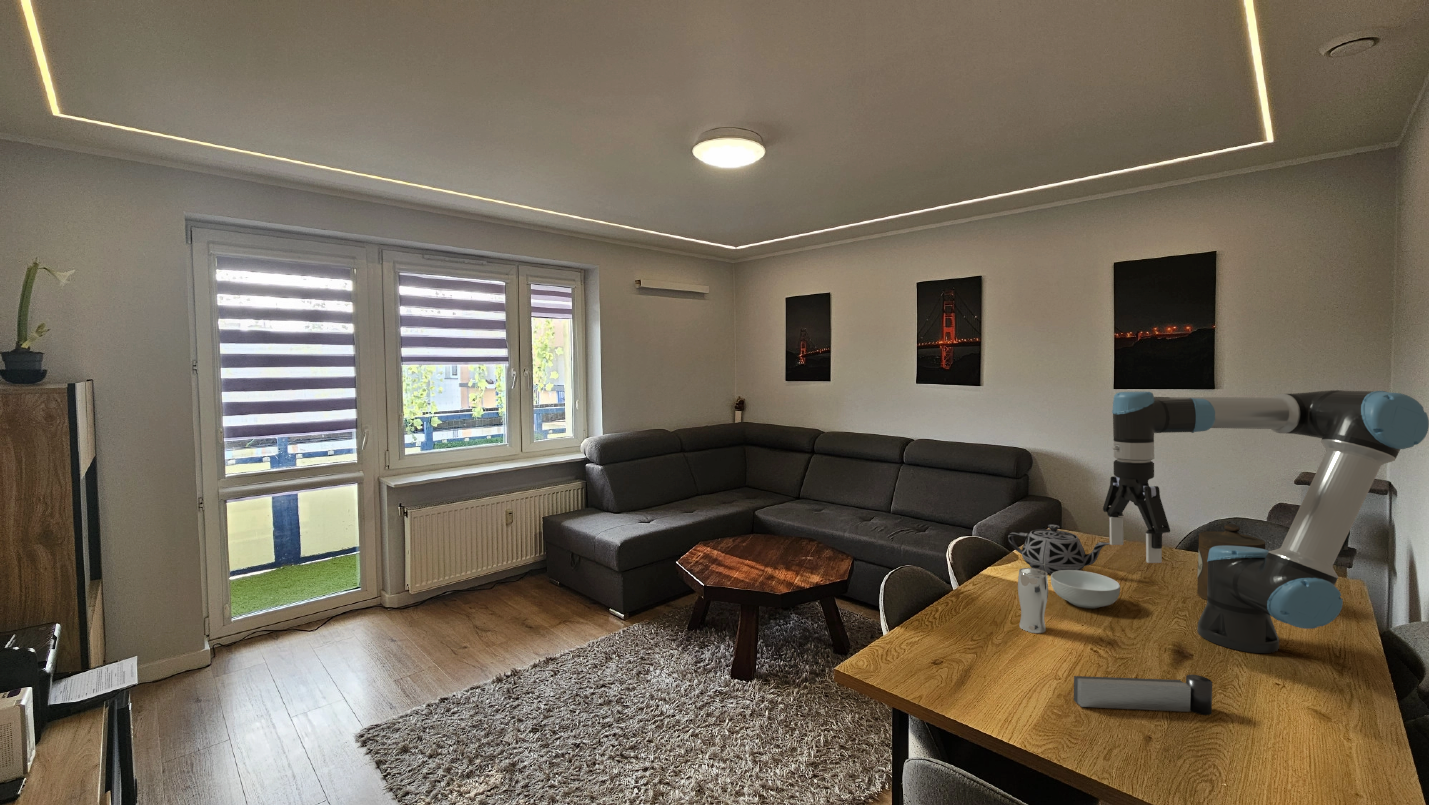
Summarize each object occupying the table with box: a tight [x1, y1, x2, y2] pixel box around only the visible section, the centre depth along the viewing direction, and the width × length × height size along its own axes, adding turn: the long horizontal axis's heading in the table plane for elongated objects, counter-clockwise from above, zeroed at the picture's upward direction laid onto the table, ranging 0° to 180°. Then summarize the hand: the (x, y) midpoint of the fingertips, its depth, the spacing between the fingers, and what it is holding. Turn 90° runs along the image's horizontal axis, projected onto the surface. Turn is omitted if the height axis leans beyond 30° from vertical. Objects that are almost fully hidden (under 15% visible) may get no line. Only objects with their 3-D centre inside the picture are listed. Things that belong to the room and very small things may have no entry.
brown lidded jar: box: [1196, 523, 1266, 601], centre depth 172 cm, size 15×15×22 cm
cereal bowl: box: [1050, 570, 1121, 609], centre depth 172 cm, size 17×17×7 cm
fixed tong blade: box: [1073, 674, 1213, 716], centre depth 119 cm, size 24×4×6 cm, turn 84°
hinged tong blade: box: [1076, 678, 1191, 713], centre depth 118 cm, size 20×2×5 cm, turn 83°
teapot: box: [1007, 524, 1111, 575], centre depth 201 cm, size 19×31×15 cm, turn 47°
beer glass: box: [1017, 567, 1049, 634], centre depth 155 cm, size 7×7×15 cm
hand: (1134, 553), depth 135 cm, fingers open, 13 cm apart
